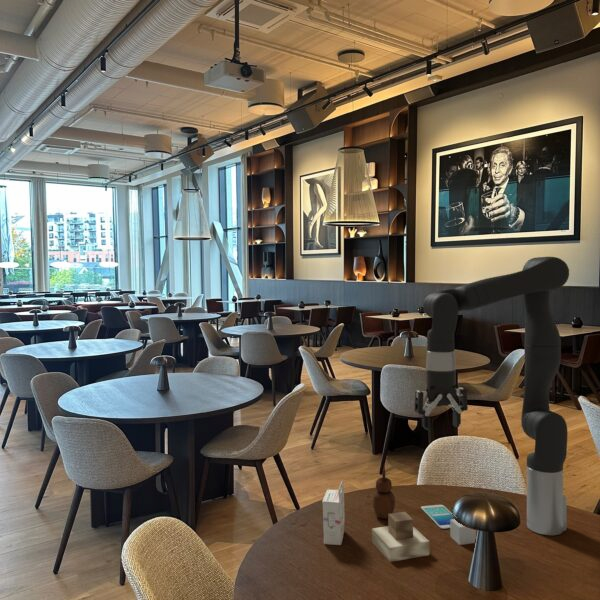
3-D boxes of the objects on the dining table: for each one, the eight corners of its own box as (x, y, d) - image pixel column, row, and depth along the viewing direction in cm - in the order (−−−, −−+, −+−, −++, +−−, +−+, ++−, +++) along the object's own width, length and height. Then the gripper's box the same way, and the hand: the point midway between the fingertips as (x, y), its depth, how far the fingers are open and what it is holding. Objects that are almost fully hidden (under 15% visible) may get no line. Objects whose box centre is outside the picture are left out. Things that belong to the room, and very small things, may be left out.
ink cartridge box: (327, 529, 153) (326, 478, 153) (345, 531, 152) (344, 479, 152) (322, 544, 145) (321, 489, 144) (341, 546, 144) (340, 491, 143)
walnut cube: (405, 529, 145) (405, 511, 145) (413, 537, 140) (412, 519, 140) (388, 531, 144) (388, 513, 144) (395, 540, 139) (395, 521, 139)
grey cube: (466, 534, 149) (466, 517, 149) (475, 543, 144) (475, 525, 144) (450, 536, 148) (450, 519, 148) (459, 545, 143) (459, 527, 143)
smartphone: (442, 504, 168) (465, 525, 153) (442, 506, 168) (465, 528, 153) (419, 506, 167) (440, 528, 152) (419, 509, 167) (440, 531, 152)
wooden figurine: (380, 509, 166) (379, 461, 165) (398, 514, 162) (397, 464, 162) (369, 517, 160) (369, 467, 160) (387, 522, 157) (386, 471, 156)
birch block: (409, 537, 149) (409, 522, 149) (429, 556, 139) (429, 541, 138) (372, 543, 146) (371, 528, 146) (389, 563, 135) (389, 547, 135)
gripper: (458, 364, 150) (458, 422, 151) (410, 367, 147) (410, 426, 148) (472, 368, 143) (472, 429, 144) (422, 371, 140) (422, 434, 141)
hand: (441, 427), depth 146 cm, fingers open, 8 cm apart
